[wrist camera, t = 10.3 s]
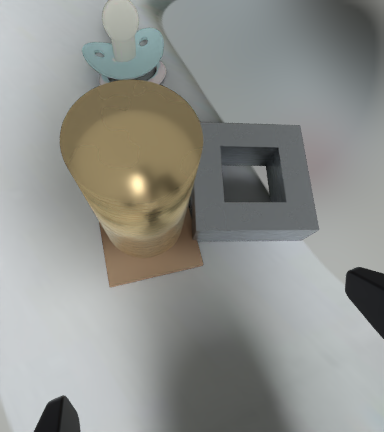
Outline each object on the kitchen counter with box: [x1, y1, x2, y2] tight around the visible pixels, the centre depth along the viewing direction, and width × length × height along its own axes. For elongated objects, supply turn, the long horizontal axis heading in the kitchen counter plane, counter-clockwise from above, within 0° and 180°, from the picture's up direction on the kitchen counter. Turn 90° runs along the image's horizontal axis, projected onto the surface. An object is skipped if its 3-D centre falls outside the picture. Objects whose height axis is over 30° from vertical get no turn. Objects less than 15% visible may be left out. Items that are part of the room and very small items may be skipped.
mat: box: [99, 207, 203, 287], centre depth 23 cm, size 7×7×1 cm
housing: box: [190, 122, 319, 242], centre depth 24 cm, size 9×9×3 cm
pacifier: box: [82, 0, 166, 85], centre depth 26 cm, size 7×6×6 cm
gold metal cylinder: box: [60, 80, 203, 258], centre depth 17 cm, size 5×5×13 cm
